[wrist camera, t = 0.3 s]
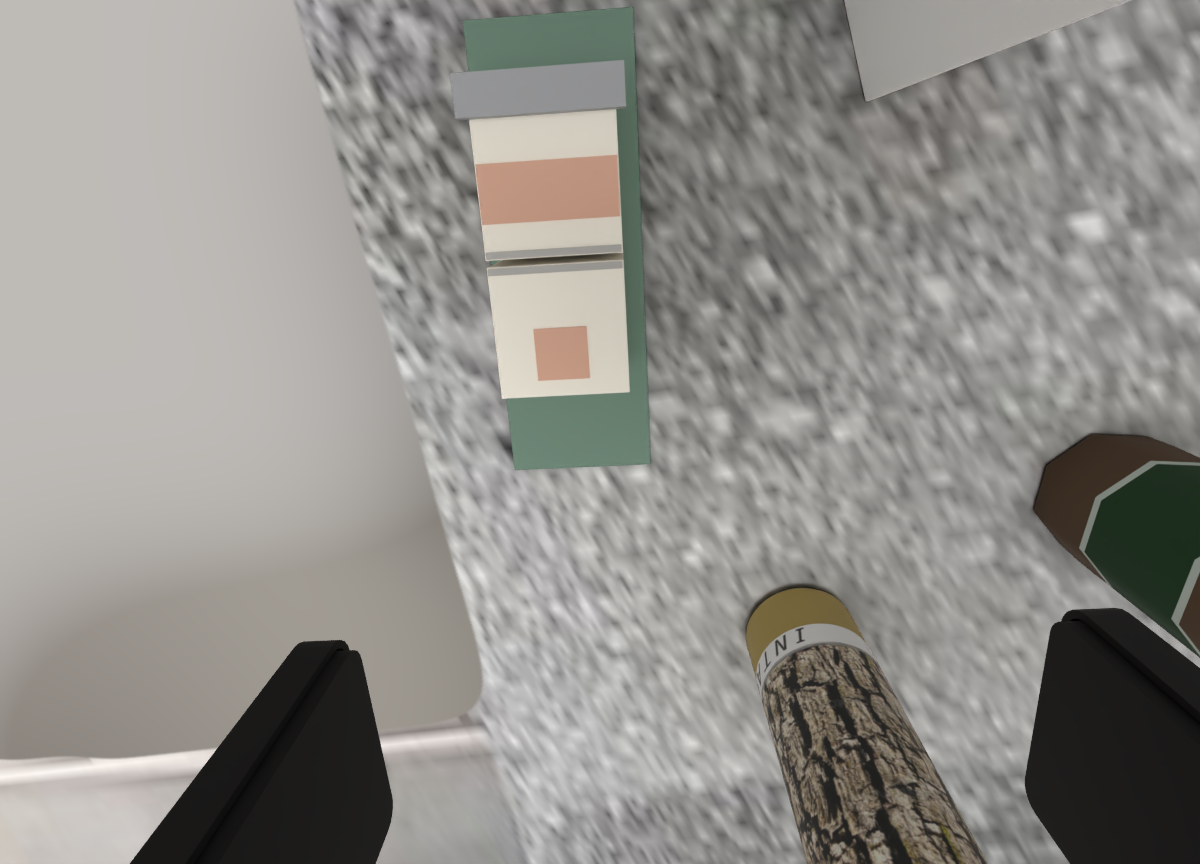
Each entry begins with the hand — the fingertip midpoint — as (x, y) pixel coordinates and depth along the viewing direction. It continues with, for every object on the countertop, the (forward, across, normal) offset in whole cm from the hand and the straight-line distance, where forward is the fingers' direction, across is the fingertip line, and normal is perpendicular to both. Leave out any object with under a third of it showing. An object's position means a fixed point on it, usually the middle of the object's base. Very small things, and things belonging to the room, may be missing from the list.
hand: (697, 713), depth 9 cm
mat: (+28, +4, -4) cm, 29 cm away
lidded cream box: (+28, +4, -9) cm, 30 cm away
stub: (+28, +4, -2) cm, 28 cm away
